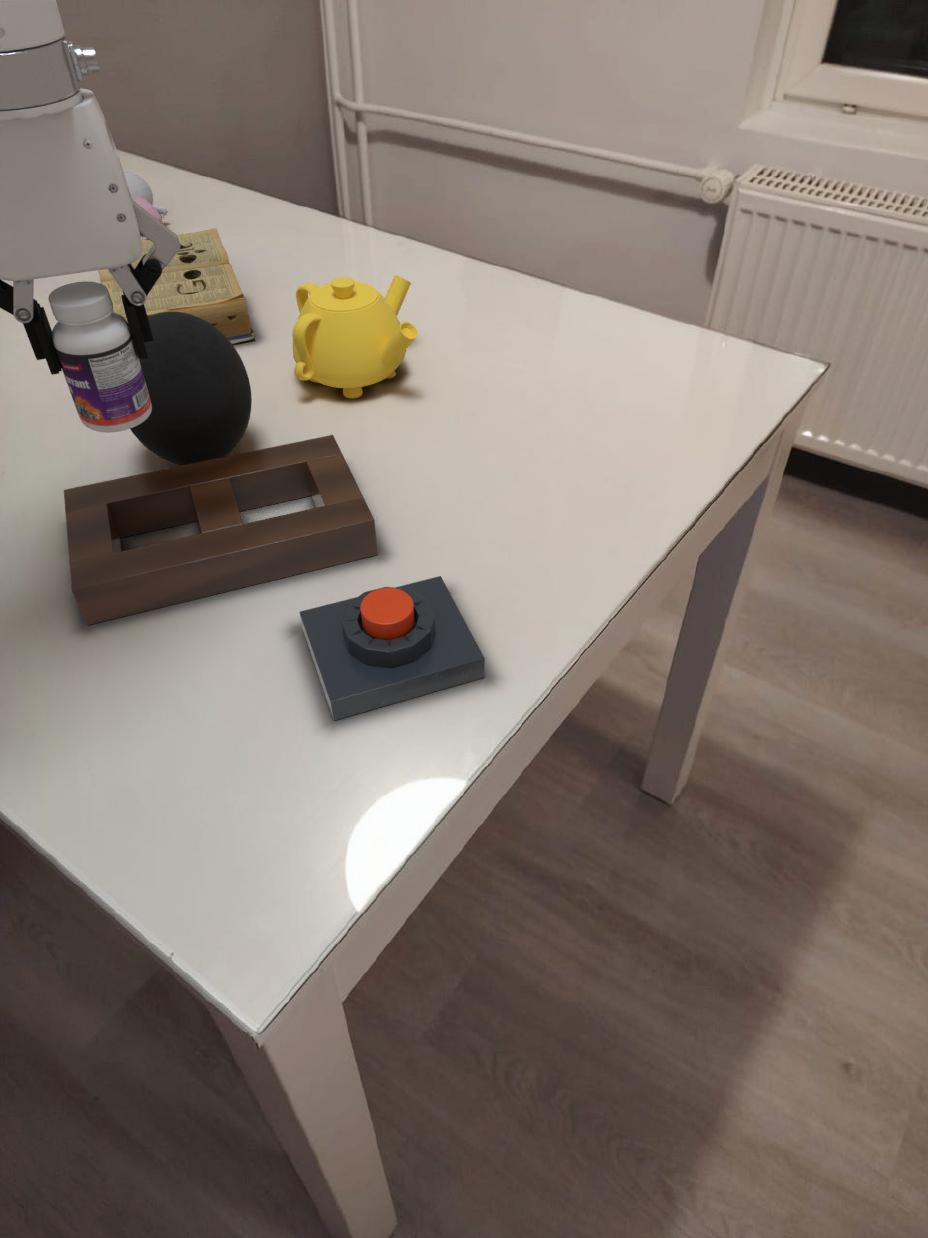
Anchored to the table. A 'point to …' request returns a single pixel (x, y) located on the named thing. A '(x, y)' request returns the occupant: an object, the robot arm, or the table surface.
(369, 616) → the button
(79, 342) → the pill bottle
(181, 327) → the decorative egg
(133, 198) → the toy
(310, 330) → the teapot
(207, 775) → the table surface
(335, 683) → the dark grey flat piece
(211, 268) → the book
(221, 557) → the dock
